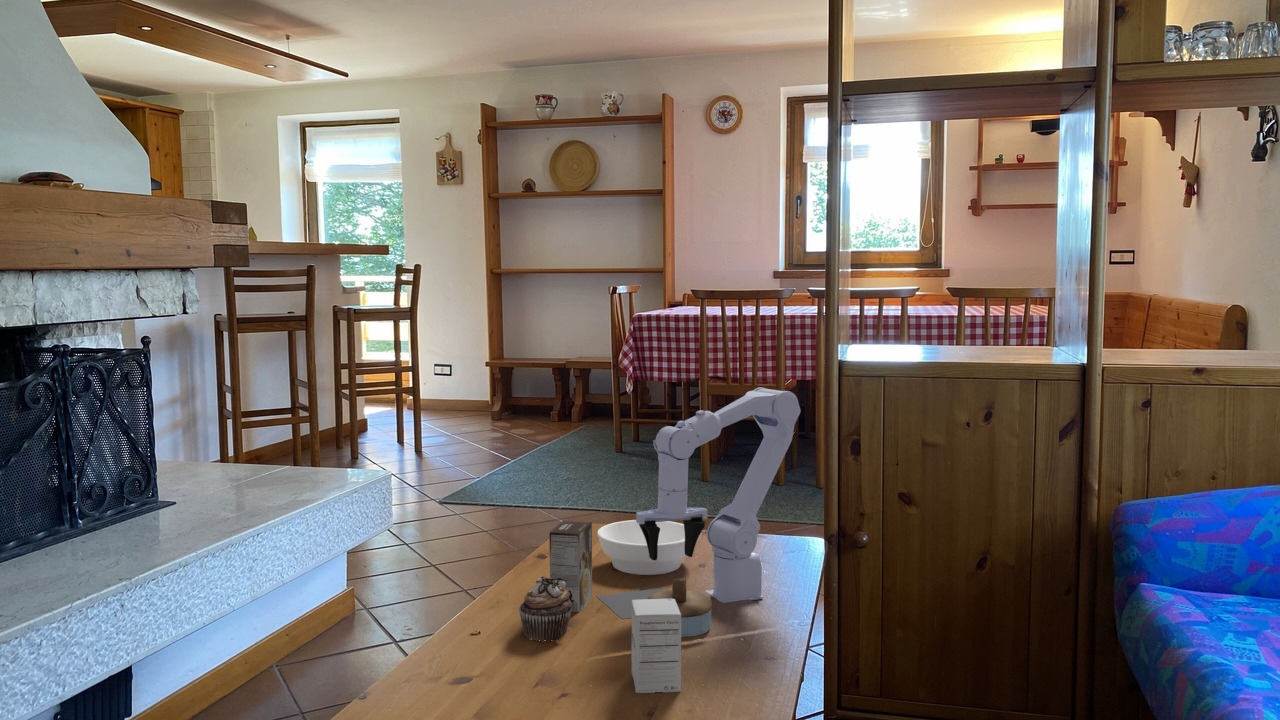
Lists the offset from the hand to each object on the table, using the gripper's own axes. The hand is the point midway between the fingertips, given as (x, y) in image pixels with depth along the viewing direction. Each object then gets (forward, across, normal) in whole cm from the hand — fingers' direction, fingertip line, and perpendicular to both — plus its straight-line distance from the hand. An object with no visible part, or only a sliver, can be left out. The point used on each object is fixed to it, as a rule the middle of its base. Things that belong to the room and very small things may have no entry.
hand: (671, 557), depth 177 cm
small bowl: (+10, +2, +10) cm, 15 cm away
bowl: (+10, -7, -27) cm, 30 cm away
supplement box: (+11, +16, +30) cm, 36 cm away
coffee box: (+11, +17, -9) cm, 22 cm away
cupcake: (+11, +26, +3) cm, 29 cm away
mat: (+10, +4, -4) cm, 12 cm away
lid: (+6, +2, +9) cm, 12 cm away
